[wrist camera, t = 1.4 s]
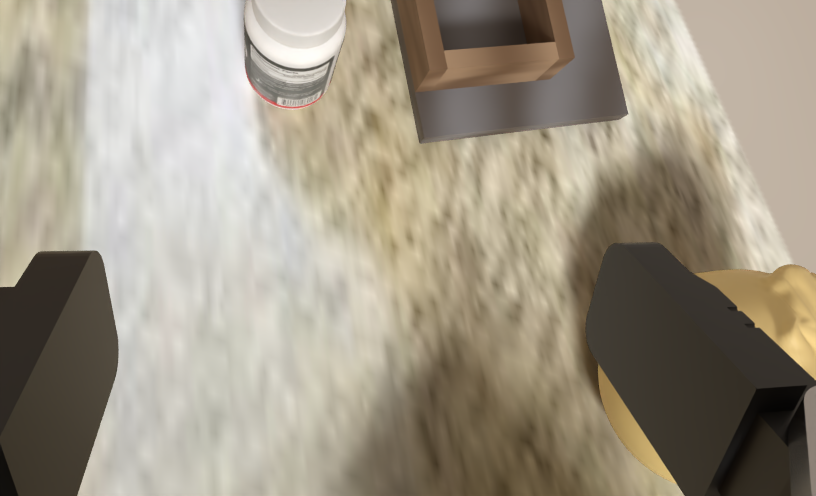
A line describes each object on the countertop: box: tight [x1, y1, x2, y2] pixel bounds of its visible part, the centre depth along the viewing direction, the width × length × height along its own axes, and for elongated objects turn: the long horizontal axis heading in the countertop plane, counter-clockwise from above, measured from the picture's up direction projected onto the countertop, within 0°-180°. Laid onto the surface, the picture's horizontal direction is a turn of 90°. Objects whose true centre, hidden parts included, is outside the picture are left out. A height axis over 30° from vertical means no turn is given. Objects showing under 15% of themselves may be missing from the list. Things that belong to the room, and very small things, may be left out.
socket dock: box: [391, 0, 628, 143], centre depth 36 cm, size 13×14×4 cm
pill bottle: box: [244, 0, 346, 110], centre depth 31 cm, size 5×5×8 cm
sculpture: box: [598, 264, 816, 484], centre depth 32 cm, size 12×12×11 cm
